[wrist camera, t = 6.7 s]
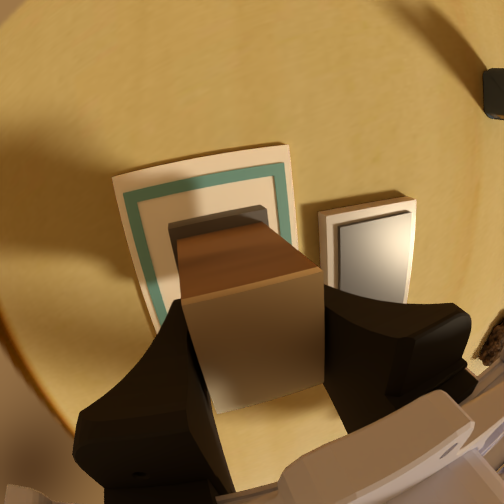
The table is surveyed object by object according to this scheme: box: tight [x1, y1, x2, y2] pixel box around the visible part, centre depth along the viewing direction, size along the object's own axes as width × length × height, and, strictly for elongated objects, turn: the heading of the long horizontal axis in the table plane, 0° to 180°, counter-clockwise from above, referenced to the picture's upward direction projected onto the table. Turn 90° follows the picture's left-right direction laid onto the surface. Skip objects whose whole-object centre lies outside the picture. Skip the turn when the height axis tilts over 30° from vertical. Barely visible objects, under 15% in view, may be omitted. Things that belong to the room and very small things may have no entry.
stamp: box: [168, 205, 325, 414], centre depth 11 cm, size 5×4×6 cm
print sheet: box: [112, 144, 298, 334], centre depth 16 cm, size 11×9×1 cm
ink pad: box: [318, 196, 416, 304], centre depth 19 cm, size 9×7×1 cm
